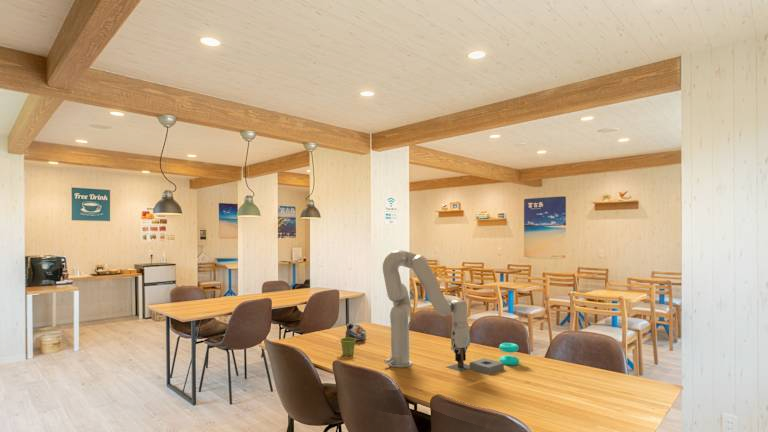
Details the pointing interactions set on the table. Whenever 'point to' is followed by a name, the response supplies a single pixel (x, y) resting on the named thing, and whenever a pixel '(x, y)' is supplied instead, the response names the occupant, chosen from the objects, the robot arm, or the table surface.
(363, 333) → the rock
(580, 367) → the table surface
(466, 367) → the mat
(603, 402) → the table surface
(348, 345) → the plant pot
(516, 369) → the table surface
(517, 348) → the donuts
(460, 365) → the dowel
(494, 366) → the socket block
